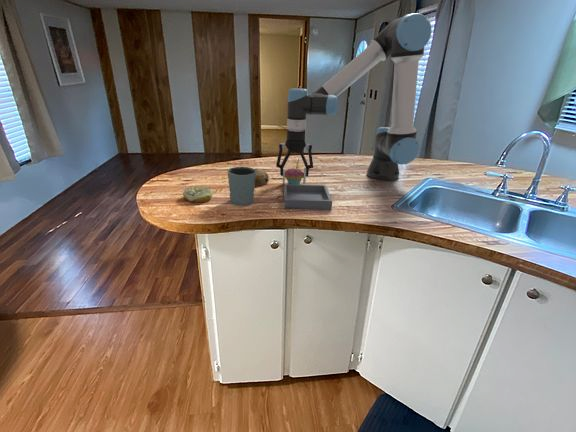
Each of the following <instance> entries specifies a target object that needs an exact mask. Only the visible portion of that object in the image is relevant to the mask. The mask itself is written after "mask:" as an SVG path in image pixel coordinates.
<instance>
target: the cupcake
mask: <svg viewBox="0 0 576 432" xmlns="http://www.w3.org/2000/svg"><path fill="white" fill-rule="evenodd" d="M299 159H300V158H298V159H297V160H296V161H297V162H296V166H295V168H288V169H285V179H286V180H287V184H301V181H302V180H303V177H304V171H302V169H300V168H299V162H300V160H299Z"/></svg>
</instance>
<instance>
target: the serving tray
mask: <svg viewBox="0 0 576 432" xmlns="http://www.w3.org/2000/svg"><path fill="white" fill-rule="evenodd" d="M283 206H284V207H283V208H284V209H283V210H307V211H308V210H309V211H310V210H313V211H314V210H315V211H332V210H333V209H332V208H333V200H332V196H331V194H330V192H329V188H328V187H327V184H303V183H300V184H288V183H285V184H283Z"/></svg>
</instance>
